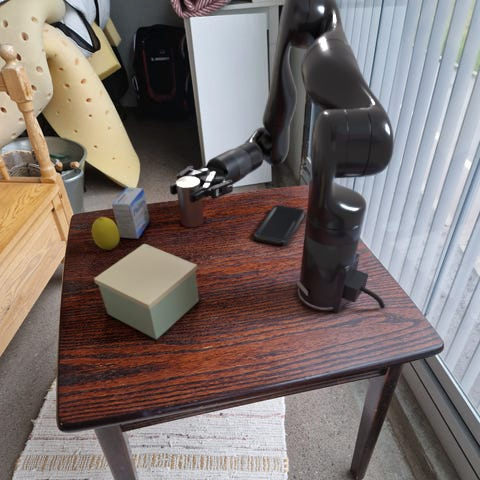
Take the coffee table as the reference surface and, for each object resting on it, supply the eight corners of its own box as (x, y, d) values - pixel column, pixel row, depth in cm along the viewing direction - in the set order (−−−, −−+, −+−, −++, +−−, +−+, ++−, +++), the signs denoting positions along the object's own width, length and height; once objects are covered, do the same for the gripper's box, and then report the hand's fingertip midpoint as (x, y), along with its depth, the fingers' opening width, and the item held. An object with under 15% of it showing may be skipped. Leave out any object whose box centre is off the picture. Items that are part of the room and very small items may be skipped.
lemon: (92, 254, 91) (82, 221, 86) (106, 240, 95) (97, 208, 90) (114, 259, 90) (105, 226, 84) (127, 245, 94) (119, 213, 88)
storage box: (201, 300, 80) (197, 264, 74) (156, 341, 72) (148, 305, 66) (151, 278, 85) (144, 243, 79) (105, 314, 77) (93, 278, 72)
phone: (252, 235, 93) (275, 203, 103) (252, 239, 94) (275, 208, 104) (286, 242, 91) (306, 209, 101) (286, 247, 92) (305, 214, 102)
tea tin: (208, 219, 101) (204, 179, 94) (194, 229, 98) (189, 189, 91) (190, 213, 103) (186, 174, 96) (176, 223, 100) (170, 183, 93)
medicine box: (138, 239, 95) (130, 205, 89) (119, 237, 96) (111, 203, 90) (150, 221, 101) (144, 187, 95) (133, 220, 101) (125, 186, 95)
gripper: (206, 145, 104) (156, 169, 94) (252, 160, 97) (203, 187, 88) (208, 174, 109) (160, 200, 99) (252, 190, 102) (206, 219, 93)
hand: (181, 194), depth 94 cm, fingers closed on tea tin, 5 cm apart
